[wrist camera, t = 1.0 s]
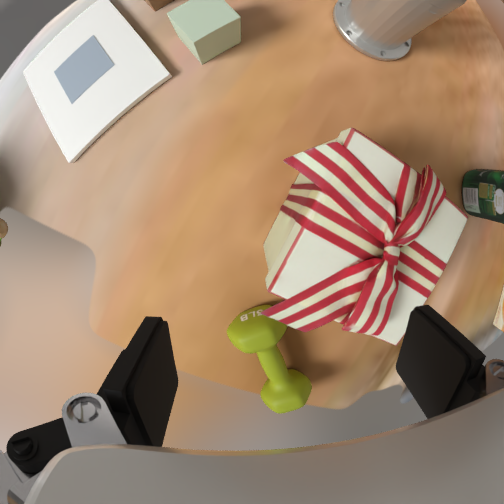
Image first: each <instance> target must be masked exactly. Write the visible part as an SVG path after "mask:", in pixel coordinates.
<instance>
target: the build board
mask: <svg viewBox="0 0 504 504" xmlns="http://www.w3.org/2000/svg"><path fill="white" fill-rule="evenodd" d="M23 73H24V76H25V78H26V80H27V83H28V85H29V87H30V89H31V91H32V94H33V96H34V98H35V100H36V102H37V104H38V106H39V108H40V110H41V112H42V115H43V116H44V118H45V120H46V122H47V124H48V126H49V128H50V130H51V132H52V134H53V136H54V138H55V139H56V141H57V143H58V145H59V147H60V148H61V150H62V152H63V154H64V155H65V157H66V159H67V161H68V162H69V163H74V162H75V161H76V160H77V159H78V158H79V157H80V156H81V155H82V154H83V152H84V151H85V150H86V149H87V148H88V147H89V146H90V145H91V144H92V143H93V142H94V141H95V140H96V139H97V138H99V137H100V136H101V135H102V134H103V133H104V132H105V131H106V130H107V129H108V128H109V127H110V126H111V125H112V124H114V123H115V122H116V121H117V120H118V119H119V118H120V117H121V116H123V115H124V114H125V113H126V112H127V111H128V110H130V109H131V108H132V107H133V106H134V105H136V104H137V103H138V102H139V101H141V100H142V99H143V98H144V97H146V96H147V95H148V94H149V93H151V92H152V91H153V90H155V89H156V88H157V87H159V86H160V85H161V84H163V83H164V82H166V81H167V80H168V79H170V78H171V77H172V76H171V75H170V73H169V72H168V71H167V70H166V68H165V67H164V66H163V65H162V63H161V62H160V61H159V59H158V58H157V57H156V56H155V55H154V53H153V52H152V51H151V50H150V48H149V47H148V46H147V45H146V43H145V42H144V41H143V40H142V39H141V37H140V36H139V35H138V34H137V33H136V31H135V30H134V29H133V28H132V27H131V25H130V24H129V23H128V22H127V21H126V19H125V18H124V17H123V16H122V15H121V14H120V12H119V11H118V10H117V9H116V8H115V7H114V5H113V4H112V3H111V2H110V1H109V0H97V1H96V2H95V3H93V4H92V5H91V6H90V7H88V8H87V9H86V10H85V11H83V12H82V13H81V14H80V15H79V16H77V17H76V18H75V19H74V20H73V21H72V22H70V23H69V24H68V25H67V26H66V27H65V28H64V29H63V30H62V31H61V32H60V33H59V34H57V35H56V36H55V37H54V38H53V39H52V40H51V41H50V42H49V43H48V44H47V45H46V46H45V47H44V49H43V50H42V51H41V52H40V53H39V54H38V55H37V56H36V57H35V58H34V59H33V60H32V62H31V63H30V64H29V65H28V66H27V67H26V69H25V70H24V71H23Z"/></svg>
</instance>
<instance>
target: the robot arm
mask: <svg viewBox="0 0 504 504" xmlns="http://www.w3.org/2000/svg"><path fill="white" fill-rule="evenodd" d="M465 2H466V0H338V2H337V3H336V5H335V7H334V10H333V19H334V22H335V25H336V27H337V29H338V31H339V32H340V34H341V35H342V36H343V38H344V39H345V40H346V41H347V42H348V43H349V44H350V45H352V46H353V47H354V48H355V49H357V50H358V51H360V52H362V53H363V54H365V55H367V56H369V57H372V58H375V59H378V60H384V61H394V60H397V59H399V58H401V57H403V56H404V55H406V54H407V53H408V51H409V50H410V47H411V38H412V37H413V36H415V35H416V34H418V33H419V32H420V31H422V30H423V29H425V28H426V27H428V26H430V25H431V24H433V23H434V22H436V21H437V20H439V19H440V18H442V17H444V16H445V15H447V14H448V13H450V12H452V11H453V10H455V9H457V8H458V7H460V6H461V5H463V4H464V3H465ZM502 2H503V3H504V0H502ZM485 357H486V356H485V355H484V354H483V353H482V352H481V351H480V350H479V349H478V348H477V347H476V346H475V345H474V344H473V343H471V342H470V341H469V340H468V339H467V338H466V337H465V336H464V335H463V334H462V333H460V332H459V331H458V330H457V329H456V328H455V327H454V326H452V325H451V324H450V323H449V322H448V321H447V320H446V319H444V318H443V317H442V316H441V315H440V314H439V313H437V312H436V311H435V310H434V309H433V308H432V307H430V306H429V305H422V306H416V307H415V308H414V309H413V310H412V311H411V313H410V316H409V320H408V324H407V328H406V332H405V336H404V339H403V343H402V346H401V350H400V353H399V356H398V360H397V363H396V370H397V372H398V374H399V375H400V377H401V378H402V380H403V381H404V383H405V384H406V386H407V387H408V389H409V391H410V392H411V394H412V395H413V397H414V398H415V400H416V401H417V403H418V404H419V406H420V407H421V409H422V411H423V412H424V414H425V415H426V417H427V420H424V421H421V422H418V423H415V424H411V425H408V426H405V427H401V428H398V429H394V430H391V431H387V432H383V433H380V434H375V435H371V436H366V437H362V438H357V439H352V440H347V441H342V442H335V443H330V444H322V445H315V446H308V447H300V448H299V447H298V448H288V449H275V450H256V451H255V450H254V451H214V450H192V449H178V448H167V447H166V448H165V447H162V444H163V440H164V436H165V432H166V428H167V424H168V421H169V416H170V413H171V409H172V405H173V402H174V397H175V394H176V391H177V387H178V376H177V371H176V366H175V361H174V356H173V350H172V345H171V339H170V333H169V327H168V323H167V321H163V319H162V318H161V317H148V316H147V317H145V319H144V320H143V322H142V323H141V325H140V327H139V328H138V330H137V331H136V333H135V335H134V336H133V338H132V340H131V341H130V343H129V345H128V346H127V348H126V349H125V350H123V351H122V352H121V354H120V355H119V357H118V359H117V360H116V362H115V364H114V365H113V367H112V369H111V370H110V372H109V374H108V375H107V377H106V379H105V381H104V382H103V384H102V386H101V388H100V389H99V391H98V393H97V394H93V393H81V394H77V395H75V396H72V397H71V398H70V399H68V400H67V401H66V403H65V404H64V405H63V408H62V416H63V417H62V418H59V419H57V420H54V421H51V422H48V423H45V424H42V425H39V426H36V427H33V428H30V429H27V430H23V431H20V432H18V433H16V434H14V435H13V436H12V437H11V438H10V440H9V441H8V444H7V452H5V453H3V452H2V451H0V504H504V361H503V360H500V359H492V360H490V361H488V362H487V364H486V365H485V367H484V366H483V365H482V364H483V362H484V360H485Z"/></svg>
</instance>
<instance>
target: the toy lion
mask: <svg viewBox="0 0 504 504" xmlns="http://www.w3.org/2000/svg"><path fill="white" fill-rule="evenodd" d="M7 231H8V226H7V224H6V222H5V221H4V220H2V219H1V218H0V246H1V239H2V238H4V237H5V235H6V234H7Z"/></svg>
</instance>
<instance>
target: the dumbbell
mask: <svg viewBox="0 0 504 504" xmlns="http://www.w3.org/2000/svg"><path fill="white" fill-rule="evenodd" d="M270 307H272V306H270V305H260V306H257V307H254V308H252V309H249V310H246V311H244V312H242V313H240V314H239V315H238V316H237V317H236V318H235V319H234V320H233V322H232V323H231V324H230V325H229V327H228V329H227V335H228V337H229V339H230V341H231V342H232V343H233V345H234V346H235V347H237V348H238V349H239V350H241V351H243V352H245V353H257V355H258V358H259V361H260V363H261V365H262V367H263V369H264V371H265V373H266V375H267V376H268V380H267V381H266V383H265V384H264V386H263V388H262V390H261V394H260V395H261V398H262V400H263V402H264V403H265V404H266V405H267V406H268V407H269V408H270V409H271V410H273V411H274V412H276V413H286V412H289V411H293V410H296V409H299V408H301V407H303V406H304V405H305V403H306V402H307V400H308V397H309V395H310V392H311V389H312V385H311V382H310V380H309V379H308V377H306V376H305V375H304V374H302V373H300V372H299V371H297V370H294V369H289V370H287V367H286V364H285V361H284V359H283V357H282V355H281V353H280V351H279V349H278V347H277V345H276V344H277V343H278V342H279V340H280V339H281V338H282V336H283V335H284V333H285V331H286V329H287V325H286V324H284V323H282V322H279V321H277V320H275V319H273V318H269V317H267V316H265V315H262V314H260V312H262V311H264V310H265V309H268V308H270Z"/></svg>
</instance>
